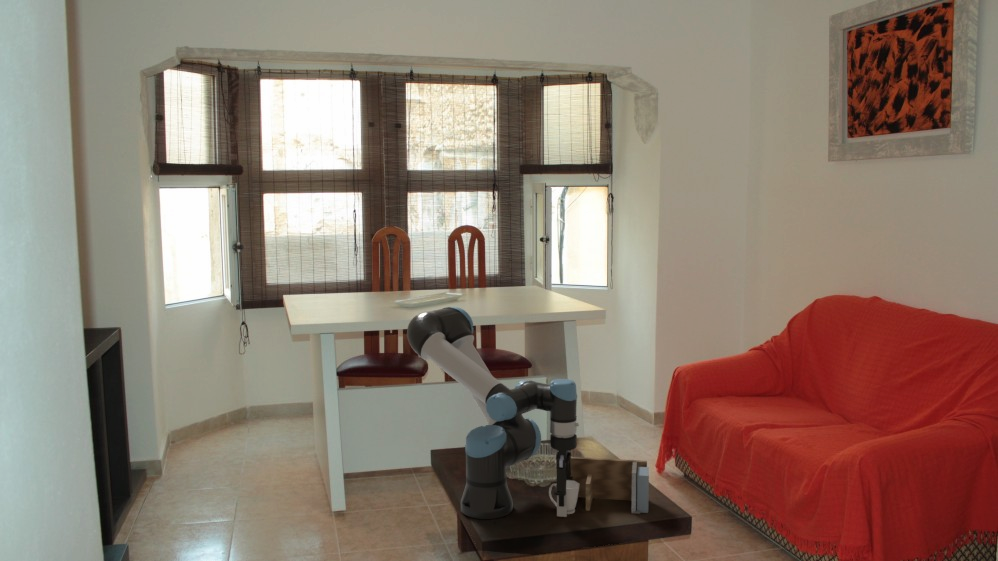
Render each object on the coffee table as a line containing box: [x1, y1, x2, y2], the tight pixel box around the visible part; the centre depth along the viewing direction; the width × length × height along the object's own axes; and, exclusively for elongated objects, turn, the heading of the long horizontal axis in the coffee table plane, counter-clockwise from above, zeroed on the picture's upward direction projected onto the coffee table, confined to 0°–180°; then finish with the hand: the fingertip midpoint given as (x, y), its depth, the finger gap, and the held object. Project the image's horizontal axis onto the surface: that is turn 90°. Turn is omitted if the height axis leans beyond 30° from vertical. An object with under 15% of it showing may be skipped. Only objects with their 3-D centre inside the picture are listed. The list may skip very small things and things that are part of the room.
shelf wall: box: [570, 456, 648, 501], centre depth 246 cm, size 25×1×12 cm, turn 79°
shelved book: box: [637, 466, 650, 514], centre depth 239 cm, size 3×7×11 cm, turn 169°
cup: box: [548, 480, 580, 515], centre depth 238 cm, size 7×10×8 cm
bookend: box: [630, 462, 641, 515], centre depth 239 cm, size 2×9×12 cm, turn 169°
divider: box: [585, 474, 593, 511], centre depth 241 cm, size 1×8×8 cm, turn 169°
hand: (563, 509), depth 239 cm, fingers open, 9 cm apart
